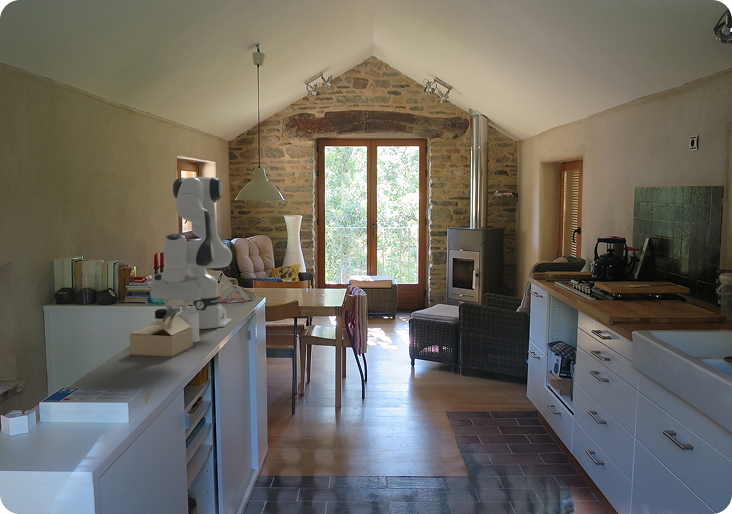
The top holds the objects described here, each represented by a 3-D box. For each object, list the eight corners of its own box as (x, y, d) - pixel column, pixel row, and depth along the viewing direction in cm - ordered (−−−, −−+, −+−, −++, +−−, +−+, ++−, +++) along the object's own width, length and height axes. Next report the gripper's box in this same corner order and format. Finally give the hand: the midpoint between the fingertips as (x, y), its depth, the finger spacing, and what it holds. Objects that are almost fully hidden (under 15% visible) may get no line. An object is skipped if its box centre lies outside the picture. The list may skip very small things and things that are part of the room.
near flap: (174, 314, 237) (182, 303, 236) (191, 327, 236) (198, 316, 235) (154, 321, 222) (162, 309, 221) (171, 335, 221) (179, 323, 220)
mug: (198, 344, 241) (197, 316, 240) (176, 345, 239) (175, 316, 238) (200, 338, 253) (200, 310, 251) (180, 338, 251) (179, 311, 250)
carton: (153, 344, 241) (152, 324, 240) (192, 346, 237) (192, 326, 236) (130, 354, 225) (129, 332, 224) (172, 357, 221) (172, 335, 221)
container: (167, 341, 246) (166, 311, 245) (150, 340, 247) (149, 310, 246) (176, 337, 253) (175, 308, 252) (160, 336, 255) (159, 307, 254)
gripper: (204, 275, 228) (205, 310, 229) (157, 273, 232) (158, 307, 233) (196, 277, 221) (197, 313, 223) (148, 275, 226) (149, 310, 227)
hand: (176, 310), depth 228 cm, fingers open, 5 cm apart
